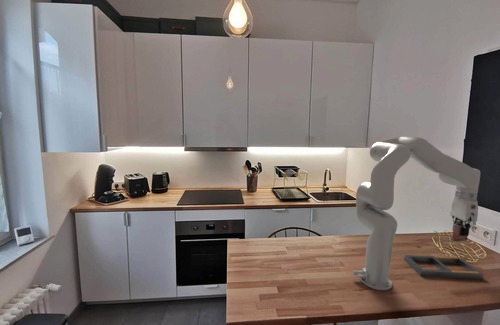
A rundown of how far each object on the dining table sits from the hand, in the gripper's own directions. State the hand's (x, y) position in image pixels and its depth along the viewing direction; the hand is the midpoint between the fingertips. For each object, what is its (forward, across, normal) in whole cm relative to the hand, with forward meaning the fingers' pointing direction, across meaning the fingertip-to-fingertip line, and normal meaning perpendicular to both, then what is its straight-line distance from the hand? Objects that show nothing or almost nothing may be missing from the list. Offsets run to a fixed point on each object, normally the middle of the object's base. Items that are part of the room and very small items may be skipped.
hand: (460, 232), depth 119 cm
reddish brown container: (+4, 0, 0) cm, 4 cm away
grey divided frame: (+18, 0, +6) cm, 19 cm away
